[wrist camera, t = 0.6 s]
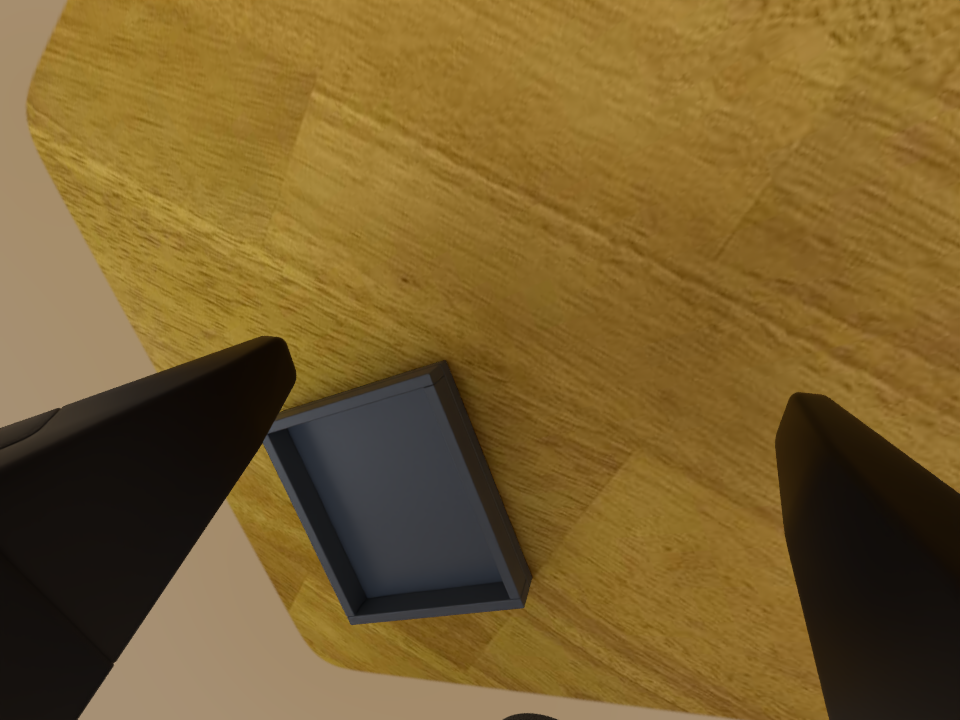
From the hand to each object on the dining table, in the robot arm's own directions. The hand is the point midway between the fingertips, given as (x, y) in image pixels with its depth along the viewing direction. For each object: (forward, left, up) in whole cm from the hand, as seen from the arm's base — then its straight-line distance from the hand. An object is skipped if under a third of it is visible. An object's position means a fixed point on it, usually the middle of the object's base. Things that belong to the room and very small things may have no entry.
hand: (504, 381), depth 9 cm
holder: (-16, 0, -14) cm, 21 cm away
